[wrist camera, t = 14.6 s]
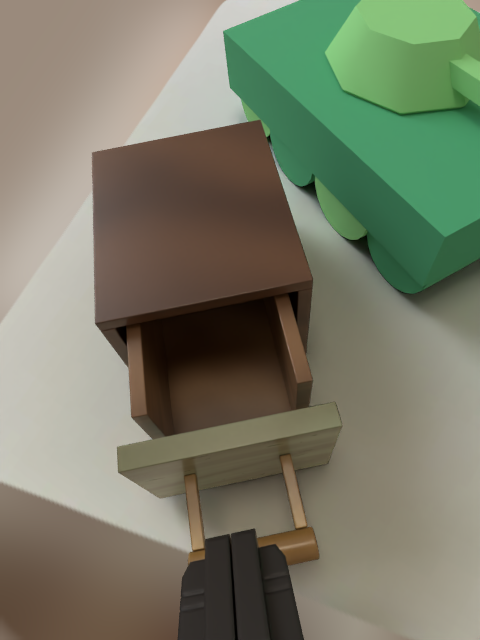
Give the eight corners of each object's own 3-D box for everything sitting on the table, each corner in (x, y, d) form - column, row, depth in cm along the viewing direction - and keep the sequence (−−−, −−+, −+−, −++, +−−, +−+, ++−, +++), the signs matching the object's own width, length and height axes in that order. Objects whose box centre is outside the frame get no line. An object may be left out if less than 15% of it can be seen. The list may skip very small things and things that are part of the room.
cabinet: (305, 357, 32) (313, 279, 23) (144, 390, 31) (94, 324, 23) (265, 217, 38) (260, 118, 30) (133, 244, 38) (91, 152, 30)
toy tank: (605, 301, 18) (217, -20, 35) (489, 401, 29) (233, 119, 46) (875, 133, 21) (399, -89, 38) (680, 280, 32) (375, 56, 49)
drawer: (353, 553, 24) (379, 544, 18) (167, 592, 24) (122, 599, 18) (281, 294, 33) (280, 223, 27) (144, 322, 33) (109, 257, 26)
